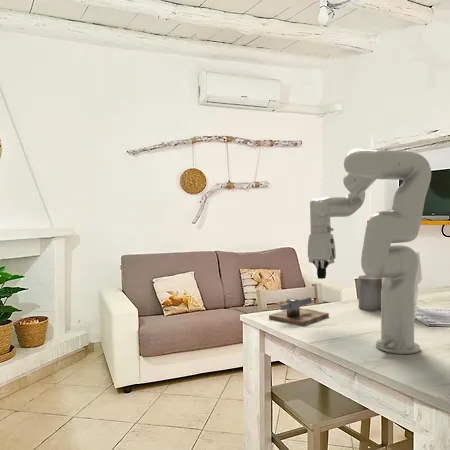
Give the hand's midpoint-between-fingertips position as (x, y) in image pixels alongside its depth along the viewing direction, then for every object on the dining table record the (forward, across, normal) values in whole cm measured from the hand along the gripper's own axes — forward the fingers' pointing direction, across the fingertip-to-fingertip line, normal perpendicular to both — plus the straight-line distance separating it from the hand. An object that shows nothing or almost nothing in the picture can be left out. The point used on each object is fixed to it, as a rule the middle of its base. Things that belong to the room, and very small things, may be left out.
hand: (321, 278), depth 171 cm
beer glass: (+17, -23, -26) cm, 38 cm away
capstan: (+14, +9, +5) cm, 17 cm away
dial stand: (+16, +9, +2) cm, 19 cm away
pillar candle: (+16, -5, -30) cm, 35 cm away
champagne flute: (+16, -19, -42) cm, 48 cm away
